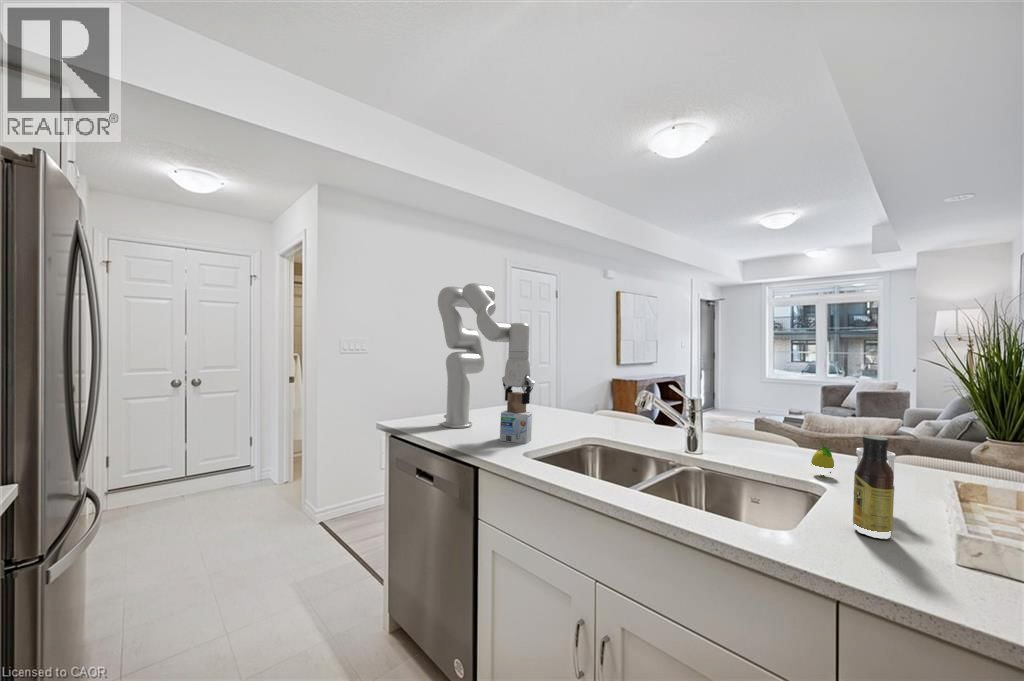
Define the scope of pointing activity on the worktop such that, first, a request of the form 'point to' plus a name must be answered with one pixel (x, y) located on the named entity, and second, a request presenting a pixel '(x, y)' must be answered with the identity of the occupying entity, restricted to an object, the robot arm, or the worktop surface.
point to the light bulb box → (516, 427)
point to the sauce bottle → (874, 487)
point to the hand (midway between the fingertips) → (516, 402)
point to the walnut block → (515, 403)
